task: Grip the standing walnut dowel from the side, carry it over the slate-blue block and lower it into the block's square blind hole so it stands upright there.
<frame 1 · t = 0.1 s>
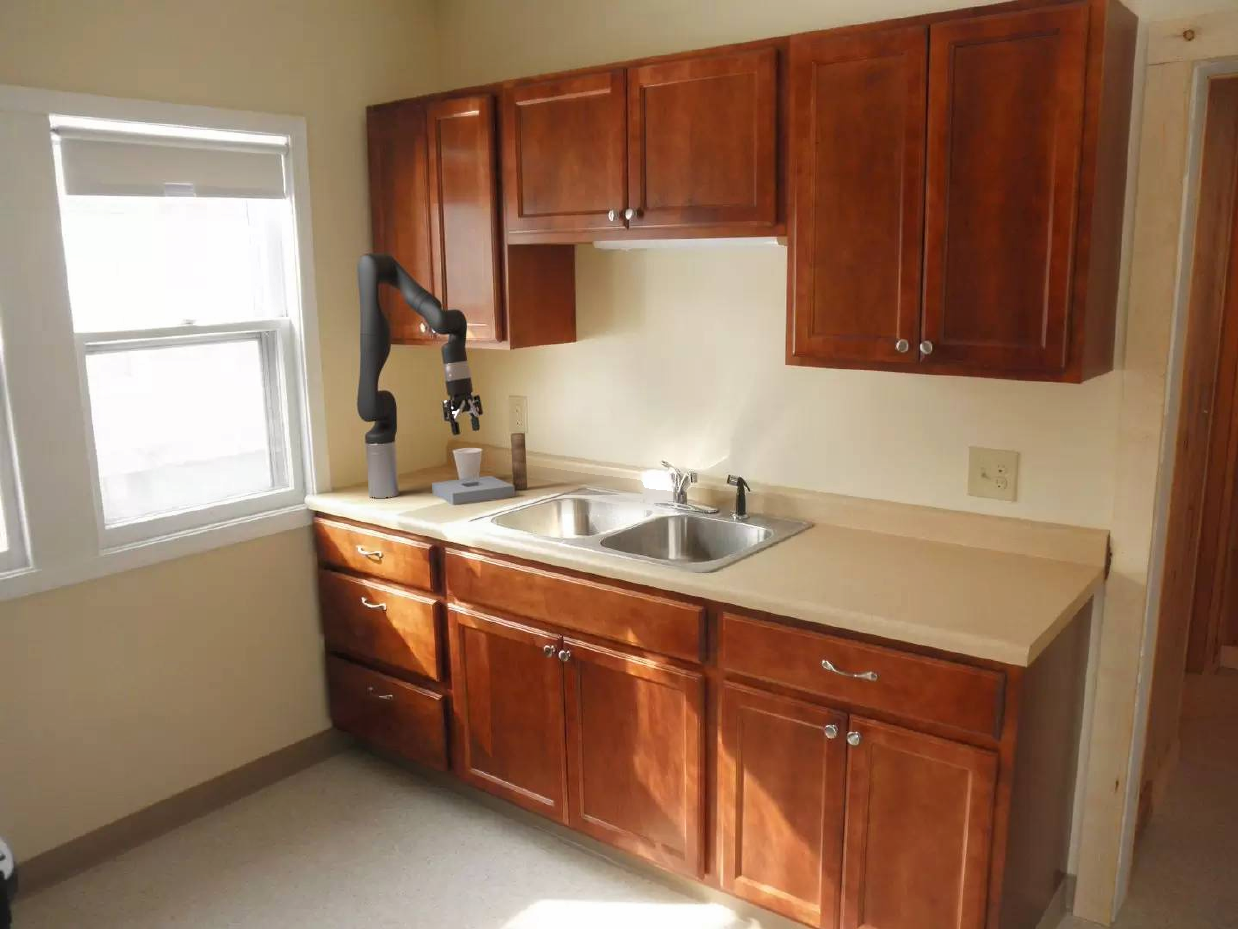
hand: (466, 432, 303), 22 cm above the worktop, tool pointing down, fingers open, 8 cm apart
dowel: (520, 489, 331), on the worktop
socket block: (473, 495, 323), on the worktop
cup: (469, 483, 343), on the worktop
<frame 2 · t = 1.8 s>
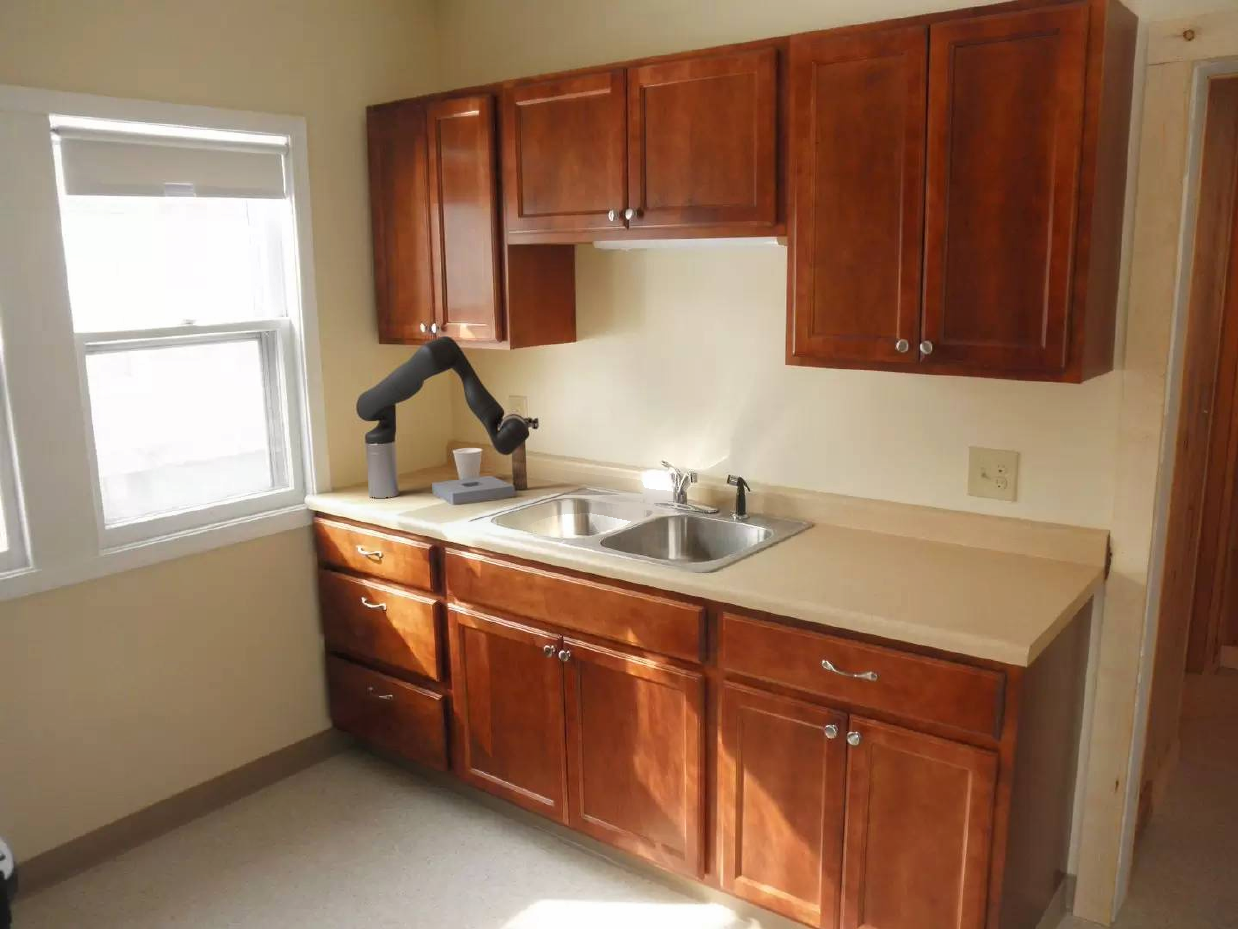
hand: (515, 421, 315), 24 cm above the worktop, tool horizontal, fingers open, 8 cm apart
nothing on the worktop moved.
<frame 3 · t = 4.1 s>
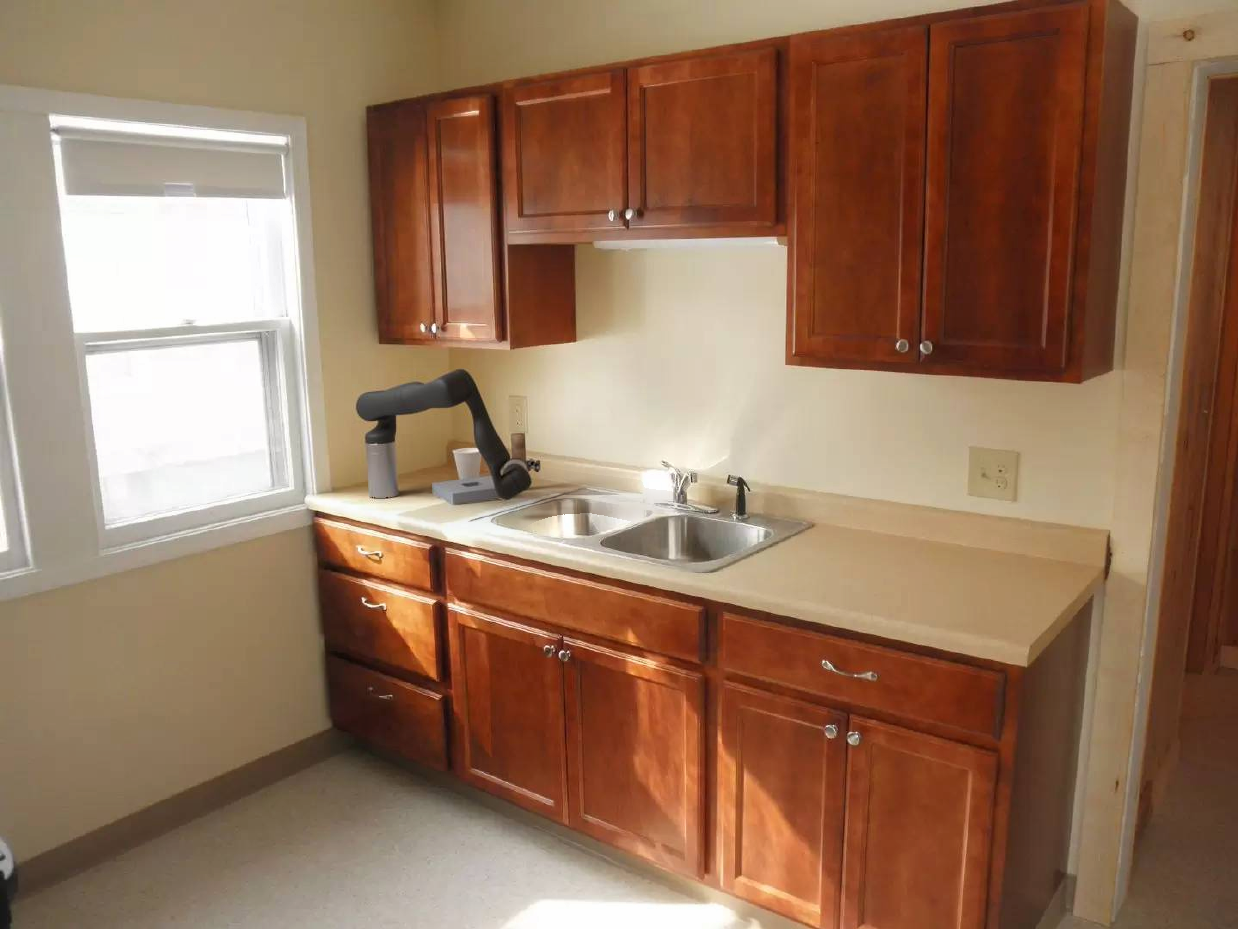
hand: (517, 462, 323), 10 cm above the worktop, tool horizontal, fingers open, 8 cm apart
nothing on the worktop moved.
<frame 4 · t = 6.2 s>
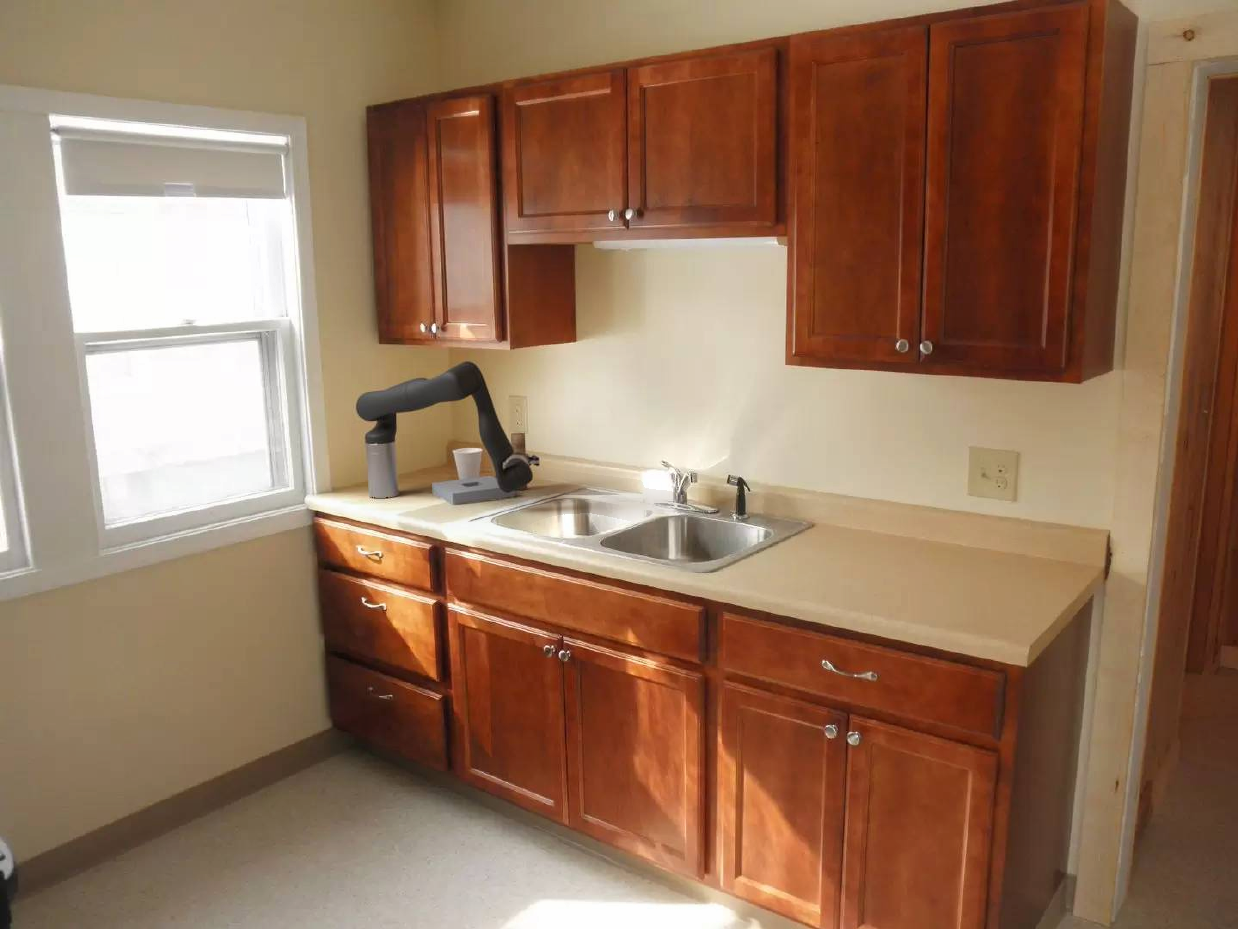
hand: (519, 457, 331), 10 cm above the worktop, tool horizontal, fingers closed on dowel, 4 cm apart
dowel: (520, 489, 331), on the worktop, touching gripper
everything else where it was.
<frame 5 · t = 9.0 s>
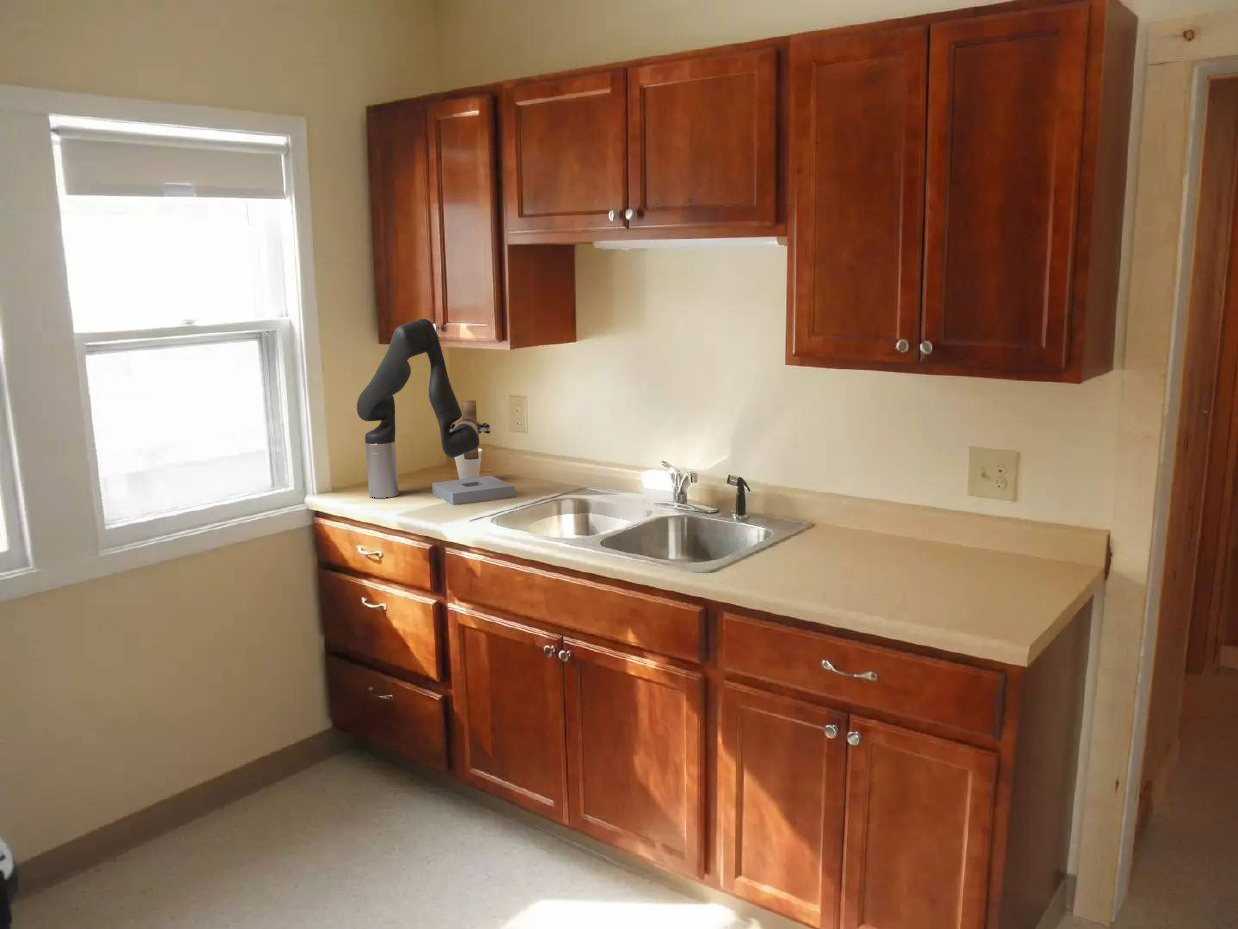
hand: (470, 425, 322), 22 cm above the worktop, tool horizontal, fingers closed on dowel, 4 cm apart
dowel: (471, 458, 321), point 12 cm above the worktop, touching gripper
everything else where it was.
when the fingers open (11 cm above the worktop, at t = 11.8 s): dowel stays where it is, resting on socket block.
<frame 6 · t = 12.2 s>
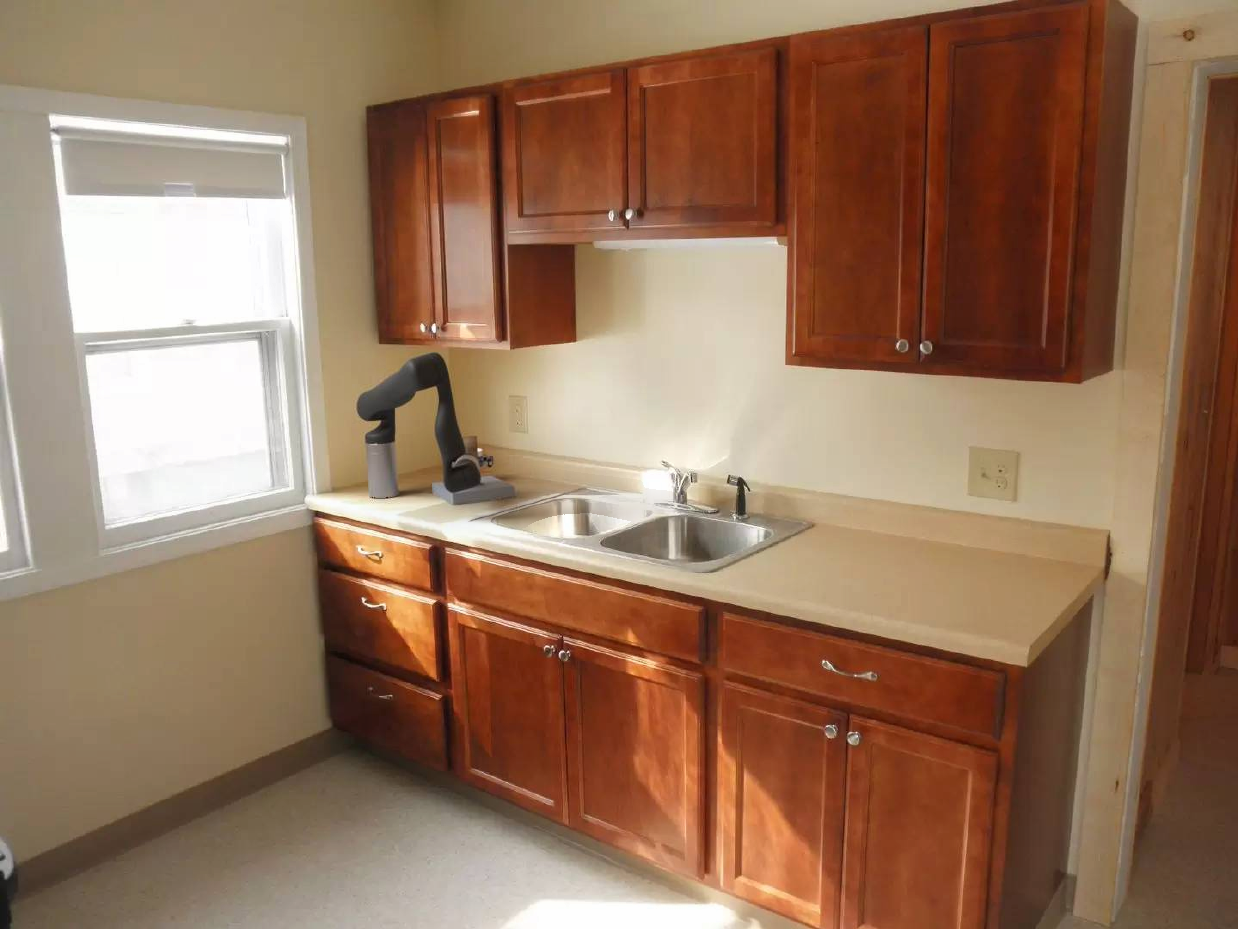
hand: (471, 458, 323), 12 cm above the worktop, tool horizontal, fingers open, 8 cm apart
dowel: (473, 493, 323), point 1 cm above the worktop, touching socket block
everything else where it was.
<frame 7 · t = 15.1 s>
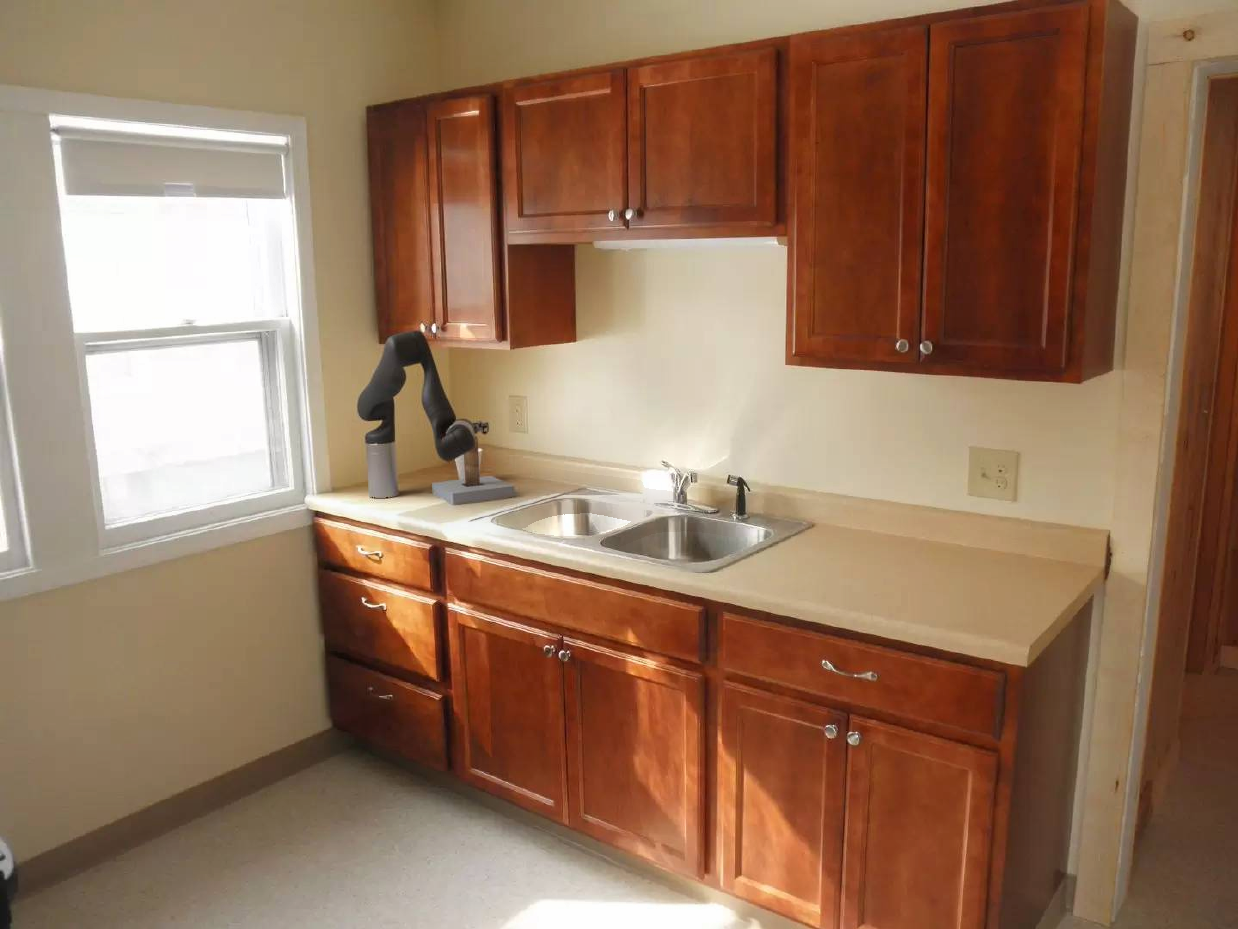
hand: (466, 424, 308), 24 cm above the worktop, tool horizontal, fingers open, 8 cm apart
nothing on the worktop moved.
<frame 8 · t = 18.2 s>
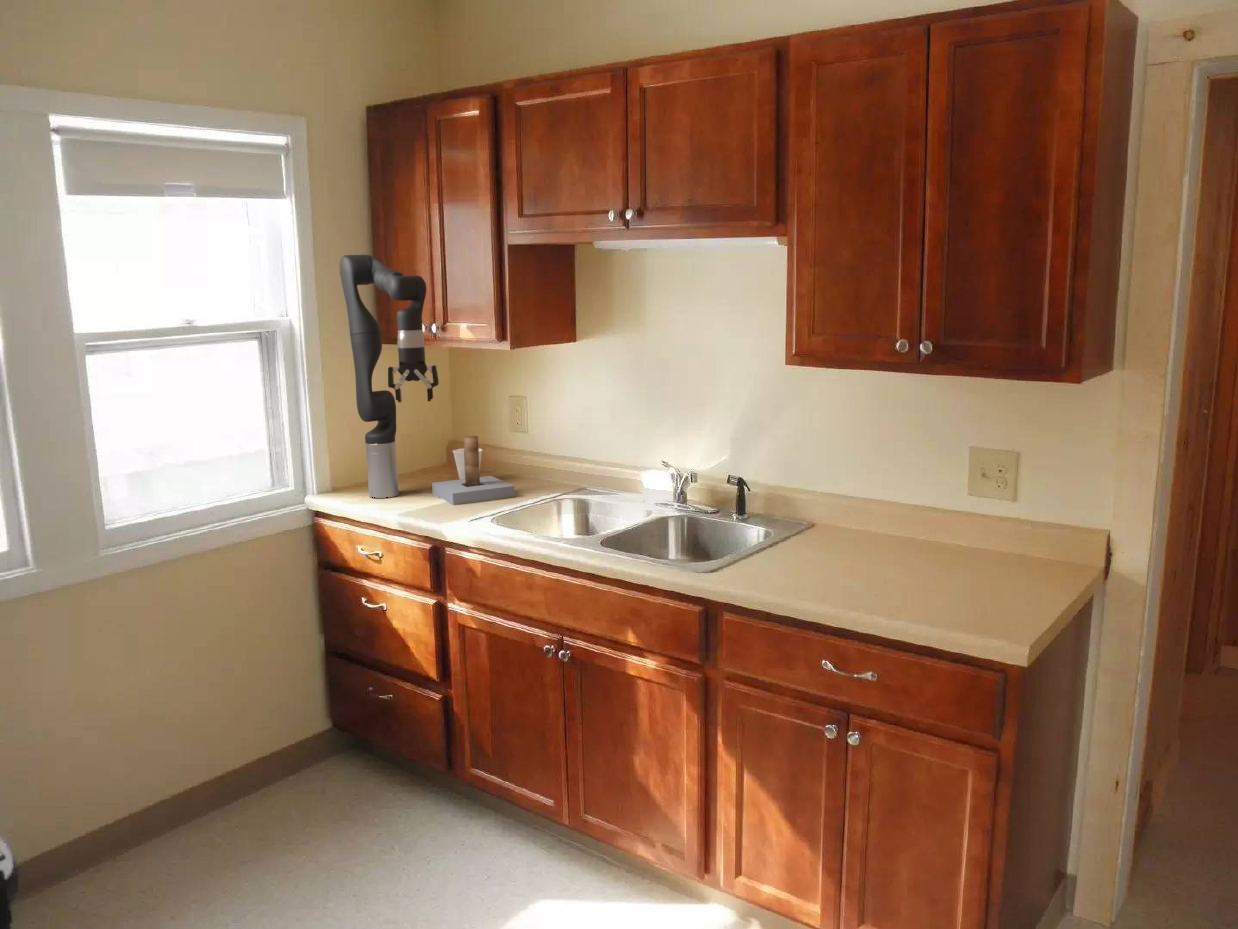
hand: (414, 401, 300), 32 cm above the worktop, tool pointing down, fingers open, 8 cm apart
nothing on the worktop moved.
at the end: dowel 0.1 cm off-centre on the socket block, point 0.5 cm above the socket block's base; dowel tilted 1°; the gripper is holding nothing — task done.
